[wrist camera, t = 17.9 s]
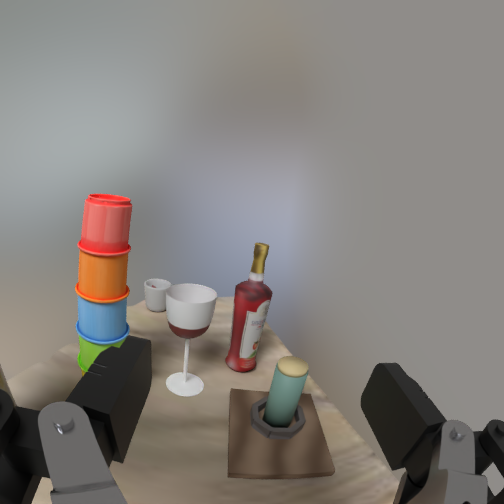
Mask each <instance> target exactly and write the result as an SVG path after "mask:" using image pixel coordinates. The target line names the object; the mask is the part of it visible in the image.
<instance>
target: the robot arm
mask: <svg viewBox="0 0 504 504" xmlns="http://www.w3.org/2000/svg"><path fill="white" fill-rule="evenodd" d="M151 380H152V366H151V341H150V340H147V339H143V338H138V337H134V336H130V335H129V336H127V337H126V339H125V340H124V342H123V343H122V345H121V346H120V348H118V347H114V346H111V347H109V348H107V349H106V350H104V351H102V352H100V354H99V355H98V356H97V358H96V359H95V360H94V362H93V364H91V366H90V367H89V368H88V371H87V372H86V373H85V374H84V375H83V377H82V378H81V380H80V381H79V382H78V384H77V385H76V387H75V388H74V390H73V391H72V392H71V394H70V395H69V397H68V398H67V400H66V401H65V402H54V403H51V404H49V405H47V406H45V407H44V408H43V409H42V410H41V411H37V410H32V409H27V408H22V407H17V405H16V402H15V400H14V398H13V396H12V393H11V391H10V388H9V386H8V384H7V381H6V378H5V376H4V373H3V371H2V368H1V365H0V504H31V503H32V500H33V498H34V495H35V493H36V490H37V488H38V485H39V483H40V480H41V478H42V477H46V478H51V481H52V485H53V491H51V492H50V496H51V501H52V504H127V502H126V500H125V498H124V496H123V495H122V493H121V491H120V489H119V487H118V485H117V484H116V482H115V480H114V479H113V477H112V474H111V472H110V470H109V467H110V464H111V462H112V460H114V461H117V462H120V463H123V462H124V459H125V456H126V453H127V450H128V447H129V445H130V442H131V439H132V436H133V434H134V431H135V428H136V425H137V423H138V420H139V417H140V415H141V412H142V409H143V407H144V404H145V402H146V399H147V396H148V394H149V391H150V387H151ZM361 408H362V410H363V412H364V414H365V417H366V418H367V420H368V423H369V425H370V427H371V428H372V431H373V432H374V435H375V436H376V439H377V441H378V443H379V445H380V447H381V448H382V451H383V453H384V455H385V457H386V459H387V461H388V463H389V465H390V467H391V469H392V470H397V469H400V468H404V467H405V468H406V471H405V472H404V474H403V475H402V477H401V481H400V484H399V487H398V490H397V493H396V496H395V499H394V502H393V504H504V488H503V489H502V491H501V492H500V493H499V494H497V495H496V496H494V495H493V493H492V492H491V490H490V488H489V486H488V481H487V477H486V476H484V475H481V474H482V473H483V472H484V471H485V470H486V469H487V468H488V467H489V466H490V465H491V464H492V462H494V464H495V465H496V467H497V468H498V470H499V472H500V473H501V475H502V476H503V477H504V422H503V421H501V420H491V421H490V422H489V423H488V424H487V426H486V427H485V429H484V430H483V431H476V432H473V431H472V430H471V429H470V427H469V426H468V425H466V424H465V423H463V422H461V421H458V420H450V421H447V420H446V419H445V418H444V416H443V415H442V414H441V413H440V411H439V410H438V409H437V407H436V406H435V405H434V403H433V402H432V401H431V400H430V398H428V396H427V395H426V393H425V392H423V390H422V388H421V387H420V386H419V385H418V383H417V382H416V381H414V380H413V379H412V378H410V377H409V376H408V375H407V374H406V373H405V372H404V371H403V369H402V368H401V367H400V365H399V364H397V363H379V364H377V365H376V366H375V368H374V370H373V372H372V374H371V377H370V379H369V381H368V383H367V385H366V387H365V389H364V391H363V393H362V396H361Z"/></svg>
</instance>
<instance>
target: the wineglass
mask: <svg viewBox="0 0 504 504" xmlns="http://www.w3.org/2000/svg"><path fill="white" fill-rule="evenodd" d="M216 298H217V293H216V292H215V291H214V290H213V289H211V288H209V287H206V286H202V285H197V284H177V285H173V286H171V287H169V288H168V289H167V290H166V311H167V318H168V323H169V327H170V329H171V330H172V332H173V333H175V334H176V335H177V336H179V337H182V338H186V340H185V355H184V372H179V373H174V374H172V375H170V376H169V377H168V378H167V381H166V385H167V387H168V389H169V390H170V391H171V392H173V393H174V394H177V395H179V396H194V395H197V394H199V393H200V392H201V391H202V390H203V387H204V384H203V381H202V380H201V379H200V378H199V377H197V376H196V375H193V374H191V373H187V372H188V357H189V343H190V338H195V337H198V336H200V335H202V334H203V333H205V332H206V330H207V329H208V327H209V325H210V323H211V320H212V317H213V313H214V309H215V304H216Z"/></svg>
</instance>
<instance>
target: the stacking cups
mask: <svg viewBox="0 0 504 504" xmlns="http://www.w3.org/2000/svg"><path fill="white" fill-rule="evenodd" d="M99 196H100V197H99ZM130 201H131V200H130V199H129V198H126V197H122V196H116V195H108V194H90V195H89V196H88V199H86V201H85V206H84V215H83V224H82V235H81V240H80V241H79V242H78V248H79V249H80V256H79V282H78V283H77V284H76V286H75V290H76V293H77V294H78V318H79V320H78V321H77V323H76V331H77V333H78V334H79V344H80V353H79V354H78V358H77V360H78V364H79V366H80V368H81V370H82V377H83V375H84V374H85V373H86V372H87V371H88V368H89V367H90V366H91V364H93V362H94V360H95V359H96V358H97V356H98V355H99V354H100V352H102V351H104V350H106V349H107V348H109V347H111V346H114V347H118V348H120V346H121V345H122V343H123V342H124V340H125V339H126V337H127V336H128V334H129V330H130V329H129V325H128V323H127V322H126V305H127V297H128V295H129V292H130V290H129V287H128V286H127V285H126V279H127V263H128V253H129V252H130V250H131V246H130V245H129V244H128V239H129V228H130V219H131V211H132V204H131V203H130Z"/></svg>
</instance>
